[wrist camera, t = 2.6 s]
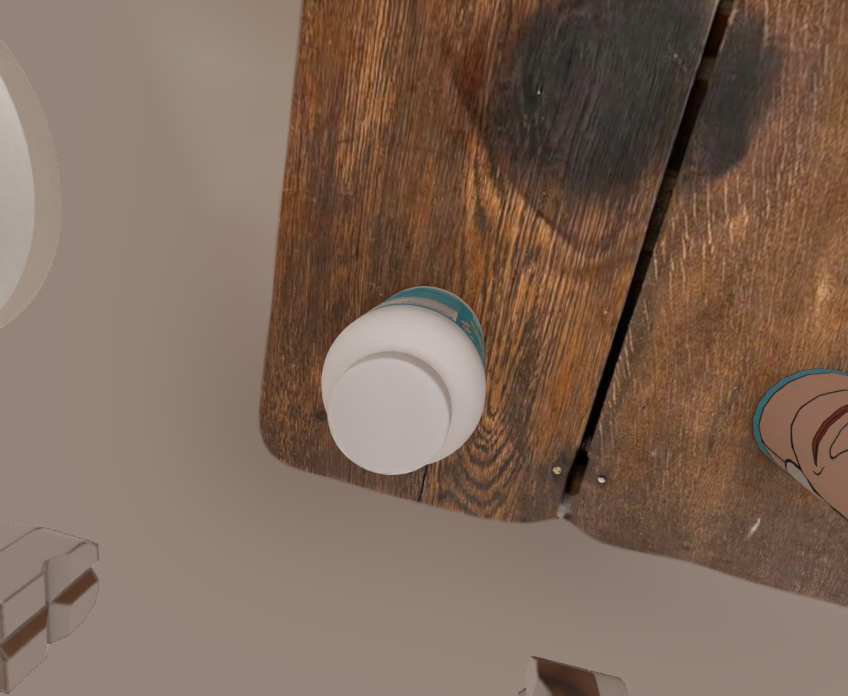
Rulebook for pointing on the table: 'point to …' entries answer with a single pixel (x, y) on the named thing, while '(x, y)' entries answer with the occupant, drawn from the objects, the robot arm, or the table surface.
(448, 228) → the table surface
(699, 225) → the table surface
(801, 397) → the printed label cylinder
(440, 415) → the pill bottle
